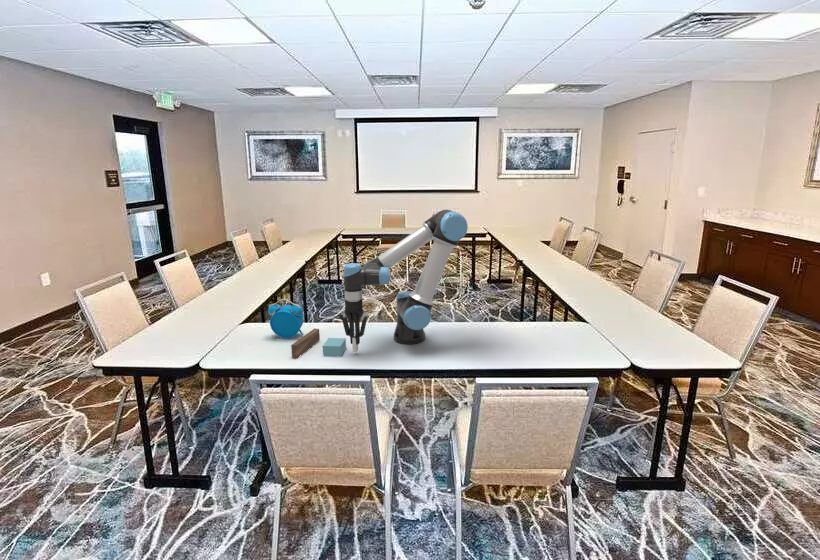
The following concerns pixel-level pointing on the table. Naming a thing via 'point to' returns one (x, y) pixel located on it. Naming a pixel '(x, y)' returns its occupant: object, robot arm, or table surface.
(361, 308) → the robot arm
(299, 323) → the alarm clock
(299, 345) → the board
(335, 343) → the block
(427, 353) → the table surface
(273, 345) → the table surface
